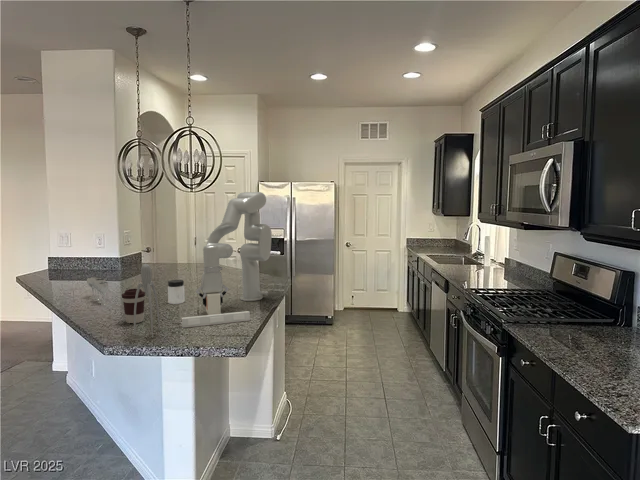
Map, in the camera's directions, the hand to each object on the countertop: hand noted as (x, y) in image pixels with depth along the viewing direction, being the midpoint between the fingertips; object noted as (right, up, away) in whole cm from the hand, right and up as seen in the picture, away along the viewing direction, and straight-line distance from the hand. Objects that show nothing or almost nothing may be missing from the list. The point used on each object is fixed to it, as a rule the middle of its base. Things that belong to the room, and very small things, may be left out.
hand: (212, 304), depth 218 cm
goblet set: (-72, -2, +29) cm, 77 cm away
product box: (0, -4, 0) cm, 4 cm away
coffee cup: (-33, -6, -15) cm, 36 cm away
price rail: (+7, -6, -20) cm, 21 cm away
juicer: (-20, -7, -35) cm, 41 cm away
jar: (-26, -2, +23) cm, 34 cm away
